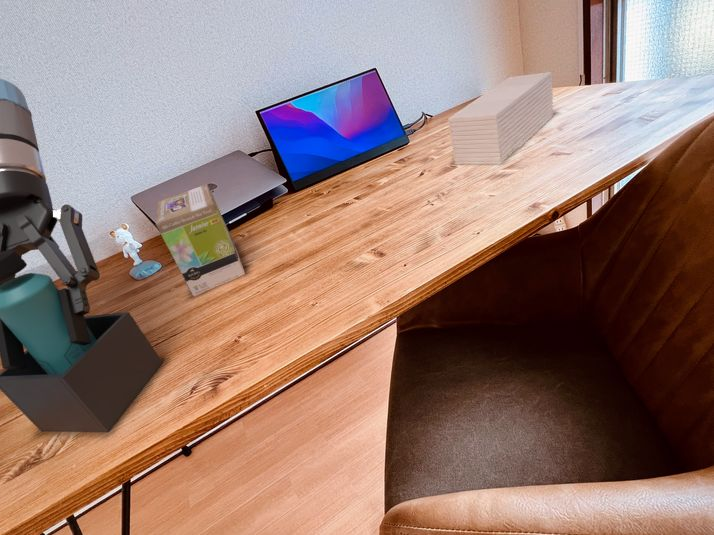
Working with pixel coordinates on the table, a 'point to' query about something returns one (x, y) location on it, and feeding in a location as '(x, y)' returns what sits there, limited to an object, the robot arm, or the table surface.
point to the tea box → (198, 239)
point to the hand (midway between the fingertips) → (48, 354)
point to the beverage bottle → (37, 316)
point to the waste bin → (87, 380)
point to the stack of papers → (501, 119)
